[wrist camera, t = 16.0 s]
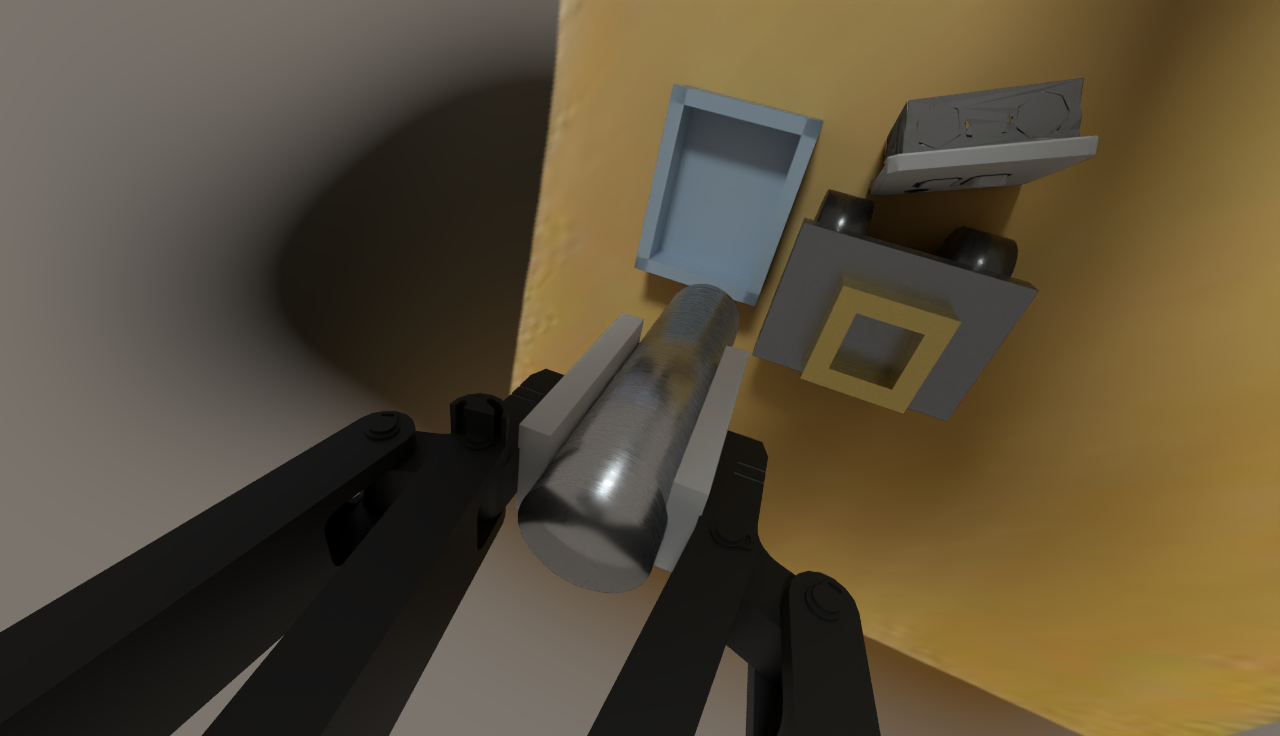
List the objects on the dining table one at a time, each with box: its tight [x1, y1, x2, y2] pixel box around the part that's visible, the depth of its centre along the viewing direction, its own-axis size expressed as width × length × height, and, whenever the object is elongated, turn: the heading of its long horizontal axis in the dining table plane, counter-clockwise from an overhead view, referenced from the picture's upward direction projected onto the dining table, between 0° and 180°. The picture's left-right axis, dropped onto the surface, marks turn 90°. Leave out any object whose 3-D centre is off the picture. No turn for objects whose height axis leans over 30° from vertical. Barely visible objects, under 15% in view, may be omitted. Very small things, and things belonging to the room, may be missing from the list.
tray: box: [634, 84, 823, 307], centre depth 36 cm, size 13×10×4 cm
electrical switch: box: [871, 78, 1099, 195], centre depth 28 cm, size 9×5×9 cm, turn 97°
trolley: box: [752, 189, 1038, 421], centre depth 34 cm, size 13×14×9 cm
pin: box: [518, 284, 740, 593], centre depth 15 cm, size 3×3×12 cm
